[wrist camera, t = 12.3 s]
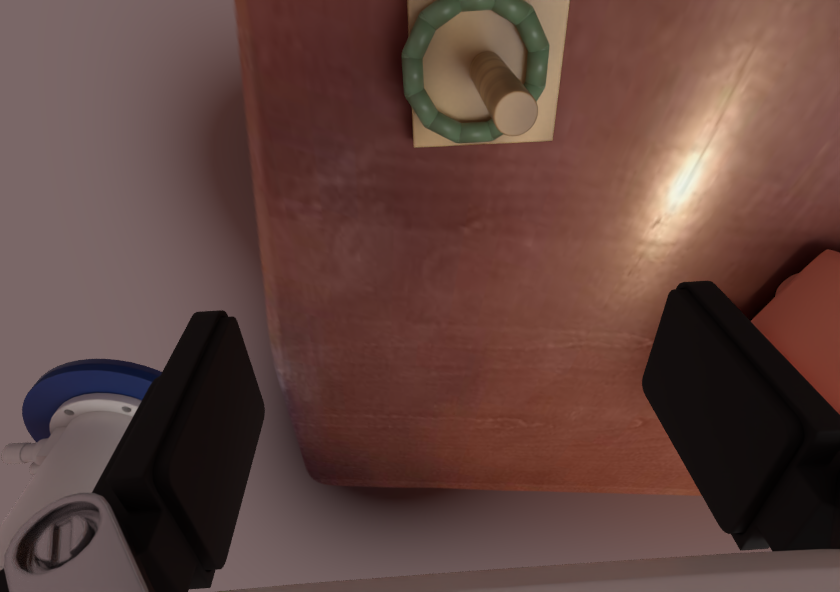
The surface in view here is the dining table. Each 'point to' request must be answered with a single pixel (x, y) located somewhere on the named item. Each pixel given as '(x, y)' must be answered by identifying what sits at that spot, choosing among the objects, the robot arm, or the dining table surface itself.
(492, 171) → the dining table surface
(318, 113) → the dining table surface
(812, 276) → the teapot
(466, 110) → the stand
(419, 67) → the ring
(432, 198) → the dining table surface
